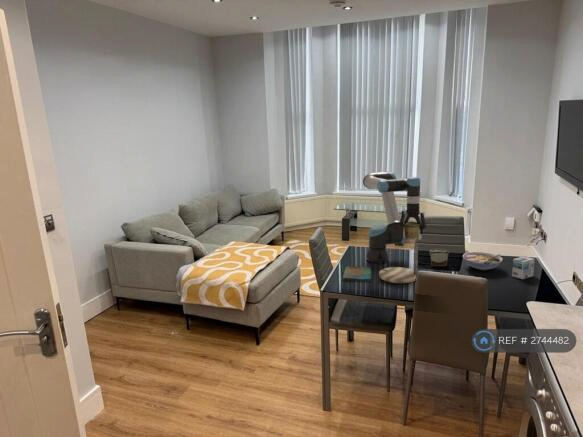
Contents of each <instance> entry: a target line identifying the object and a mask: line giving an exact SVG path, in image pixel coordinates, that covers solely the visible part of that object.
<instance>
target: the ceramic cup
mask: <svg viewBox="0 0 583 437" xmlns="http://www.w3.org/2000/svg"><path fill="white" fill-rule="evenodd" d="M419 225H420V224H419ZM419 225H418V223H417V221H408V222H407V223H406V224H405V222H404V221H403V226H404V231H405V237H406V239H407V241H416V240H417V239H418V235H419V229H420V228H419Z"/></svg>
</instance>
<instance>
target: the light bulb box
mask: <svg viewBox="0 0 583 437" xmlns="http://www.w3.org/2000/svg"><path fill="white" fill-rule="evenodd" d="M535 260H536V259H535V258H532V257H529V256H527V255H526V256H525V255H523V256H520V257H517V258H513V261H512V272H511V273H512V274H511V276H512V277H514V278H517V279H521V280H525V279H528V278H531V277H534V273H535V272H534V270H535Z"/></svg>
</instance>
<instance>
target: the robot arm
mask: <svg viewBox="0 0 583 437" xmlns="http://www.w3.org/2000/svg"><path fill="white" fill-rule="evenodd" d="M362 185H363V186H364V188H366V189H369V190H377V191H378V193H380V194H381V198H382V201H383V207H384V208H383V209H384V212H385V217H386V220H387V221H386V222H387V224H386V225H383V224H381V225H373V226H372V227H370V228H369V229H368V249H367V253H366V259H367V260H368V262H369V261H371V262H370V263H373V262H375V264H381V263H382V262H384V263H387V262H389V260H390V259H389V258H390V257H389V253H388V251H387V246H388V245H397V244H398V245H400V244H406V242H407V241H408V240H407V239H406V237H405V231H404V226H403V223H404V222H405V224H406V223H407V222H409V220H410V219H411V218H412V219H414V220H415V222H417V223H418V225H419V224H420V225H419V231H418V235H417V239H418V240H419V241H420V240H422V235H423V234H424V230H425V229H427V223H426V220H425V211H420V202H421V201H420V200H421V198H420V197H421V196H420V195H421V177H419V176H418V177H417V176H409V177H403V178H399V179H398V178H397V177H396V175H395V173H393V172H392V171H383V172H371V173H368V174H366V175H365V176H364V177H363V179H362ZM395 192H406V210H405V209H404V210H401V216H400V214H399V209H398V206H397V200H396V197H395V196H396V195H395ZM406 214H407V215H406ZM367 260H366V261H367ZM386 261H387V262H386Z"/></svg>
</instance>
